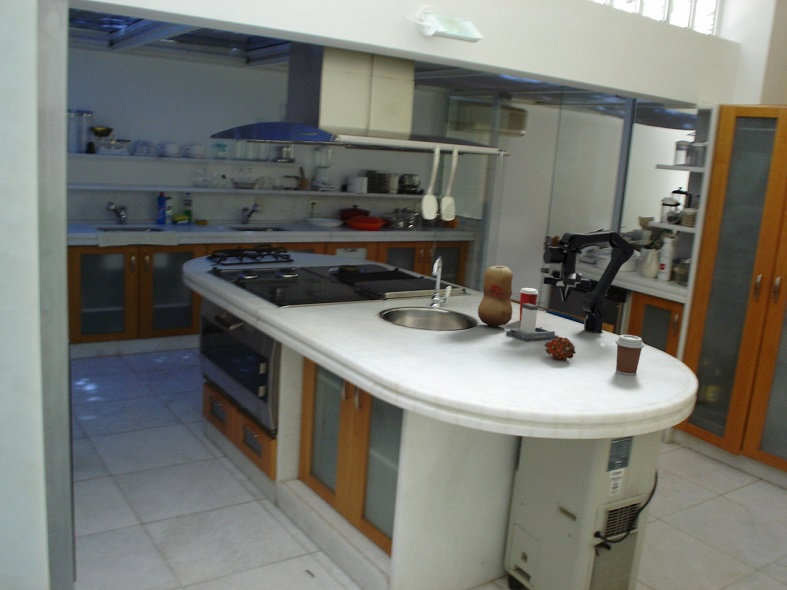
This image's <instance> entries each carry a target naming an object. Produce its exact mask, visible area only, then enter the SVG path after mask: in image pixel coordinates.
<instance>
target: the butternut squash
mask: <svg viewBox="0 0 787 590" xmlns="http://www.w3.org/2000/svg"><path fill="white" fill-rule="evenodd" d="M513 277H514V274H513V272H512V270H511V269H510V268H509V267H508V266H506V265H492V266H489V267H488V268H487V269H485V272H484V276H483V283H482V289H483V296H482V299H481V301H480V303H479V305H478V306H477V307H478V308H477V315H478V318H479V320H480V321H481V322H482V323H484V324H485V325H487V326H488V327H492V328H499V327H501V326H505V325H507V324H508V323H509V322H510V321H511V320H512V318H513V317H512V316H513V305H512V301H511V297H512V294H513V288H512V287H513V286H512V283H513Z"/></svg>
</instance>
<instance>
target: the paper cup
mask: <svg viewBox="0 0 787 590" xmlns="http://www.w3.org/2000/svg"><path fill="white" fill-rule="evenodd" d="M519 293H520V296H519V297H520V299H519V322H520V323H521V318H522V305H523V304H526V303H530V304H533V305H536V306H537V299H538V295H539V292H538V290H537V289H536V288H531V287H530V288H529V287H522V288H521V289H520V291H519Z"/></svg>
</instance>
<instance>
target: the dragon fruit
mask: <svg viewBox="0 0 787 590" xmlns="http://www.w3.org/2000/svg"><path fill="white" fill-rule="evenodd" d="M544 347H545V348H544V349H545V350H544V351H545V353H546V354H547V355H551V356H552V359H553V360H558V359H559V360H560V361H563V362H564V361H566V360H567V359H572V358H573V359H574V354H576V350H575V346H574V343H572V342H571V341H570V339H569V338H568V337H562V336H558V338H557V339H550V341H546V342H545V344H544Z"/></svg>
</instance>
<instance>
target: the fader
mask: <svg viewBox="0 0 787 590" xmlns="http://www.w3.org/2000/svg"><path fill="white" fill-rule="evenodd" d="M538 309H539V305H537V304H536V305H533V304H530V303H526V304H523V305H522V318H521V322H520V328H519V329H520V330H517V331H520V332H523V333H537V332H535V327H537V326H536V323H537V317H538V316H537V313H538Z"/></svg>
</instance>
